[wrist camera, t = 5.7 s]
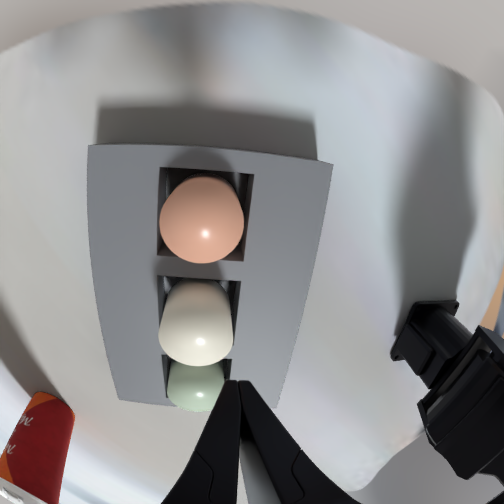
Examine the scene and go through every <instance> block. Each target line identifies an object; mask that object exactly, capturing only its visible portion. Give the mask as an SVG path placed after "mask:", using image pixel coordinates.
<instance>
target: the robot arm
mask: <svg viewBox="0 0 504 504" xmlns="http://www.w3.org/2000/svg"><path fill="white" fill-rule="evenodd" d="M458 307H459V302H457V301H456V300H451V301H428V302H416V303H415V304H414V305H413V306H412V309H411V311H410V314H409V316H408V319H407V321H406V323H405V326H404V328H403V330H402V332H401V335H400V337H399V339H398V341H397V343H396V346H395V348H394V350H393V352H392V354H391V359H392V360H393V361H399V360H406V362H407V363H408V364H409V366H410V367H411V369H412V370H413V371H414V373H415V374H416V375H417V376H420V378H421V379H422V381H423V382H424V383H425V385H426V386H427V388H428V389H431V390H430V391H429V392H428V393H427V395H426V396H425V397H424V398H423V399H421V400H420V401H419V402H418V403H417V406H418V409H419V412H420V415H421V418H422V421H423V425H424V428H425V431H426V435H427V437H428V440H429V443H430V444H431V445H432V446H433V447H434V449H435V450H436V451H438V452H439V453H440V454H441V455H442V456H443V457H444V458H445V459H446V460H447V461H448V462H449V464H450V465H451V467H452V468H453V470H454V471H455V473H456V475H457V476H459V477H461V478H463V479H465V480H469V479H470V478H472V477H473V476H474V475H475V474H477V473H479V474H484V475H491V476H495V477H496V478H497V479H498V480H499V481H500V483H501V484H502V485H503V486H504V339H503V338H502V337H501V336H500V335H499V334H497V333H496V332H494V331H491V330H489V329H487V328H485V327H482V326H480V325H478V327H477V328H476V330H475V333H474V334H472V333H471V332H470V331H469V330H468V329H467V328H465V327H464V326H463V325H462V324H461V323H460V322H459V321H458V320H457V319H456V318H455V317H454V316H455V314H456V312H457V309H458ZM491 350H492V352H491V354H490V351H491ZM239 458H240V463H241V469H242V474H243V479H244V484H245V489H246V494H247V499H248V503H249V504H361V503H359V502H357V501H356V500H354V499H353V498H352V497H350V496H349V495H348V494H347V493H345V492H344V491H343V490H342V489H341V488H340V487H338V486H337V485H336V484H335V483H334V482H333V481H332V480H330V479H329V478H328V477H327V476H326V475H325V474H324V473H323V472H322V471H321V470H320V469H319V468H318V467H317V466H316V465H315V464H314V463H313V462H312V461H311V460H310V458H309V457H308V456H307V455H306V454H305V452H304V451H303V450H301V448H300V446H299V445H298V444H297V443H296V441H295V440H294V439H293V438H292V436H291V435H290V434H289V432H288V431H287V430H286V429H285V427H284V426H283V425H282V423H281V422H280V421H279V420H278V418H277V417H276V416H275V414H274V413H273V412H272V410H271V409H270V408H269V406H268V405H267V404H266V402H265V401H264V399H263V398H262V397H261V395H260V394H259V393H258V391H257V390H256V388H255V387H254V386H253V384H252V383H251V382H250V381H249V380H239V381H237V380H228V379H227V380H225V382H224V384H223V386H222V389H221V391H220V393H219V396H218V398H217V400H216V402H215V405H214V407H213V409H212V411H211V414H210V416H209V418H208V420H207V423H206V425H205V427H204V429H203V432H202V434H201V436H200V438H199V440H198V443H197V445H196V447H195V449H194V451H193V453H192V455H191V458H190V460H189V462H188V464H187V465H186V467H185V469H184V471H183V473H182V474H181V476H180V477H179V479H178V481H177V482H176V484H175V485H174V486H173V488H172V489H171V491H170V492H169V493H168V495H167V496H166V497H165V499H164V500H163V502H162V503H161V504H236V503H237V485H238V467H239ZM486 504H504V491H503V492H501V493H500V494H498V495H497V496H496V497H494V498H493V499H492V500H490V501H489V502H487V503H486Z"/></svg>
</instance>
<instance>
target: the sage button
mask: <svg viewBox="0 0 504 504" xmlns="http://www.w3.org/2000/svg"><path fill="white" fill-rule="evenodd" d="M223 384H224V370H223V359H222V360H220V361H218V362H216V363H214V364H211V365H206V366H190V365H186V364H182V363H180V362H178V361H176V360H174V359H171V366H170V373H169V380H168V388H167V395H168V398H169V399H170V401H171V402H172V403H173V404H175V405H176V406H178V407H180V408H182V409H185V410H188V411H195V412H203V411H209V410H212V409H213V407H214V405H215V402H216V400H217V398H218V396H219V393H220V391H221V389H222V386H223Z"/></svg>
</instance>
